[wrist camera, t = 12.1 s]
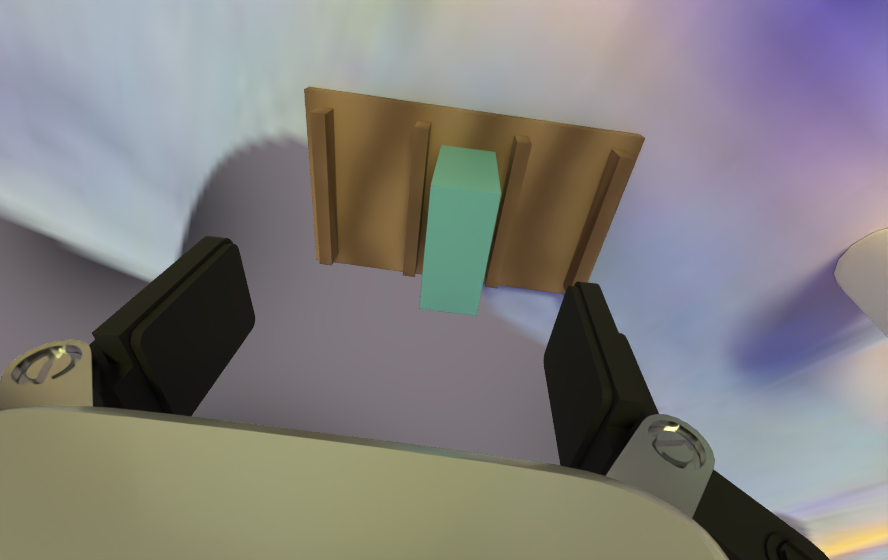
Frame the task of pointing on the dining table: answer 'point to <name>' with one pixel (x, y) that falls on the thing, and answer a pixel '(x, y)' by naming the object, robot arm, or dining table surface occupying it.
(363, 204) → the rack
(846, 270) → the foam cup
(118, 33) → the dining table surface
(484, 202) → the block
